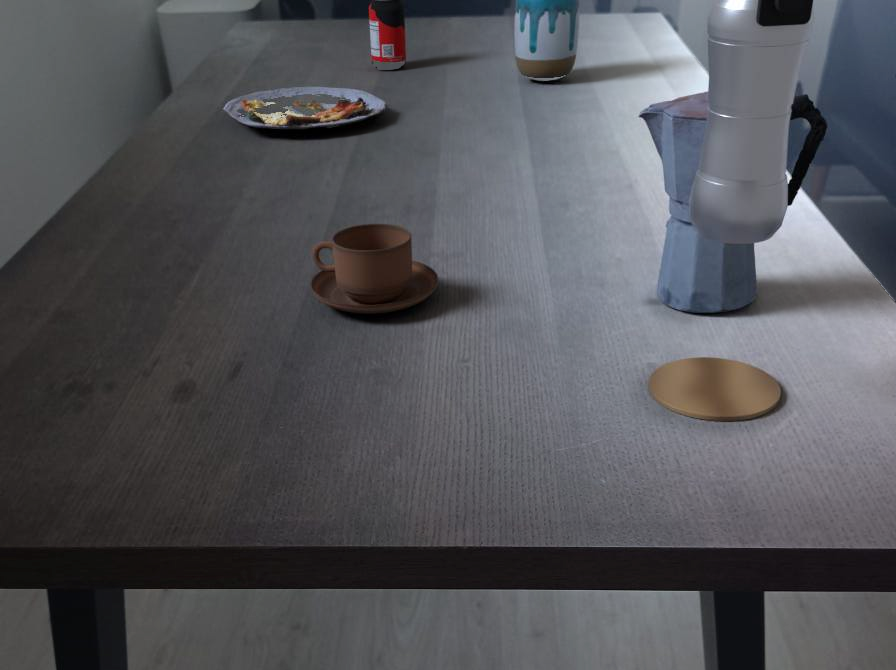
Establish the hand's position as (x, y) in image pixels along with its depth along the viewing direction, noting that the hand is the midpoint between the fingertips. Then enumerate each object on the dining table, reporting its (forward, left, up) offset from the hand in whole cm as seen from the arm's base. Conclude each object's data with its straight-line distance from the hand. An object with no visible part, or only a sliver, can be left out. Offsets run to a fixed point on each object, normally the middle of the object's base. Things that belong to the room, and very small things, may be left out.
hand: (762, 12), depth 66 cm
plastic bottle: (0, 0, -15) cm, 15 cm away
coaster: (0, 0, -27) cm, 27 cm away
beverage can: (+21, -130, -27) cm, 135 cm away
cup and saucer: (+26, -22, -27) cm, 44 cm away
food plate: (+35, -94, -27) cm, 104 cm away
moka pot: (-5, -18, -27) cm, 33 cm away
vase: (-5, -113, -27) cm, 116 cm away
